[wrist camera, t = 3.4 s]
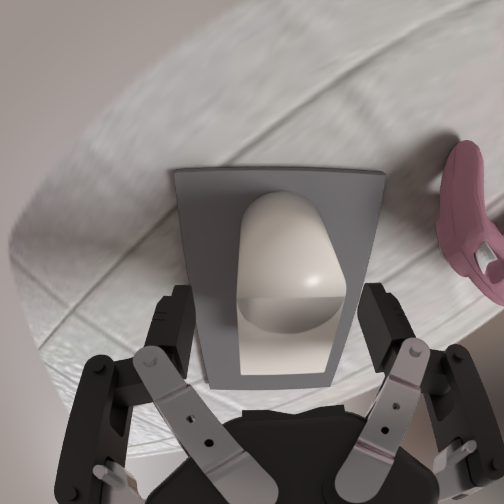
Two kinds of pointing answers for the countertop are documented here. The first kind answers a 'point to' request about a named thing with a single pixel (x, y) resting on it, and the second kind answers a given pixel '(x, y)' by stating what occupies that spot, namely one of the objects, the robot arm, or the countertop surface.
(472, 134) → the countertop surface
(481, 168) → the video game controller
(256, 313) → the plug block
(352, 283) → the rubber mat
